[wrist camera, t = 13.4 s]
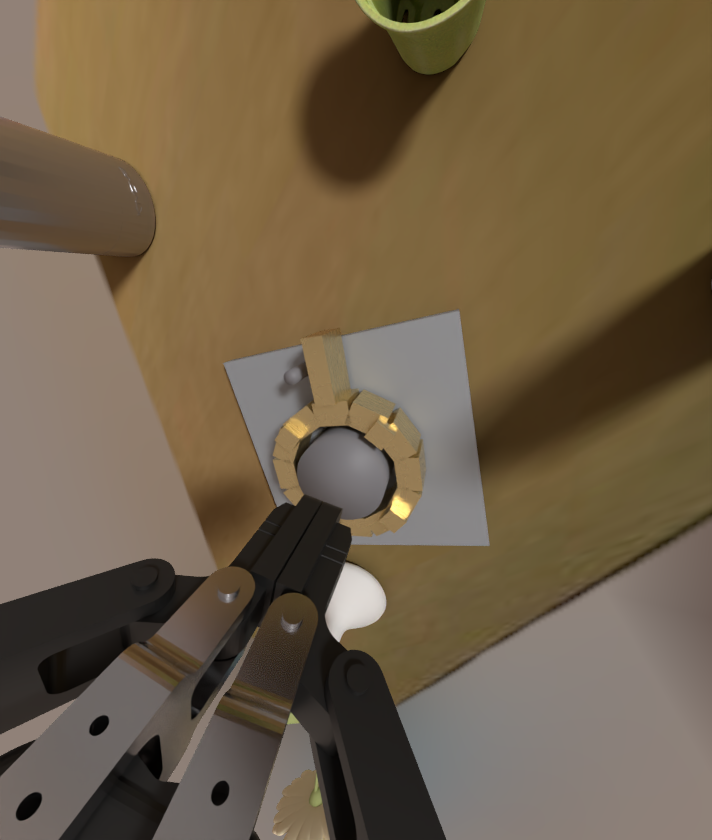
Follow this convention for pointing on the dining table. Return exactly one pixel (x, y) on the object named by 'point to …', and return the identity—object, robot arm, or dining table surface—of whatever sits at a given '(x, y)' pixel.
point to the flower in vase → (302, 802)
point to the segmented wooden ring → (363, 414)
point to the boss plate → (414, 390)
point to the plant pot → (427, 29)
